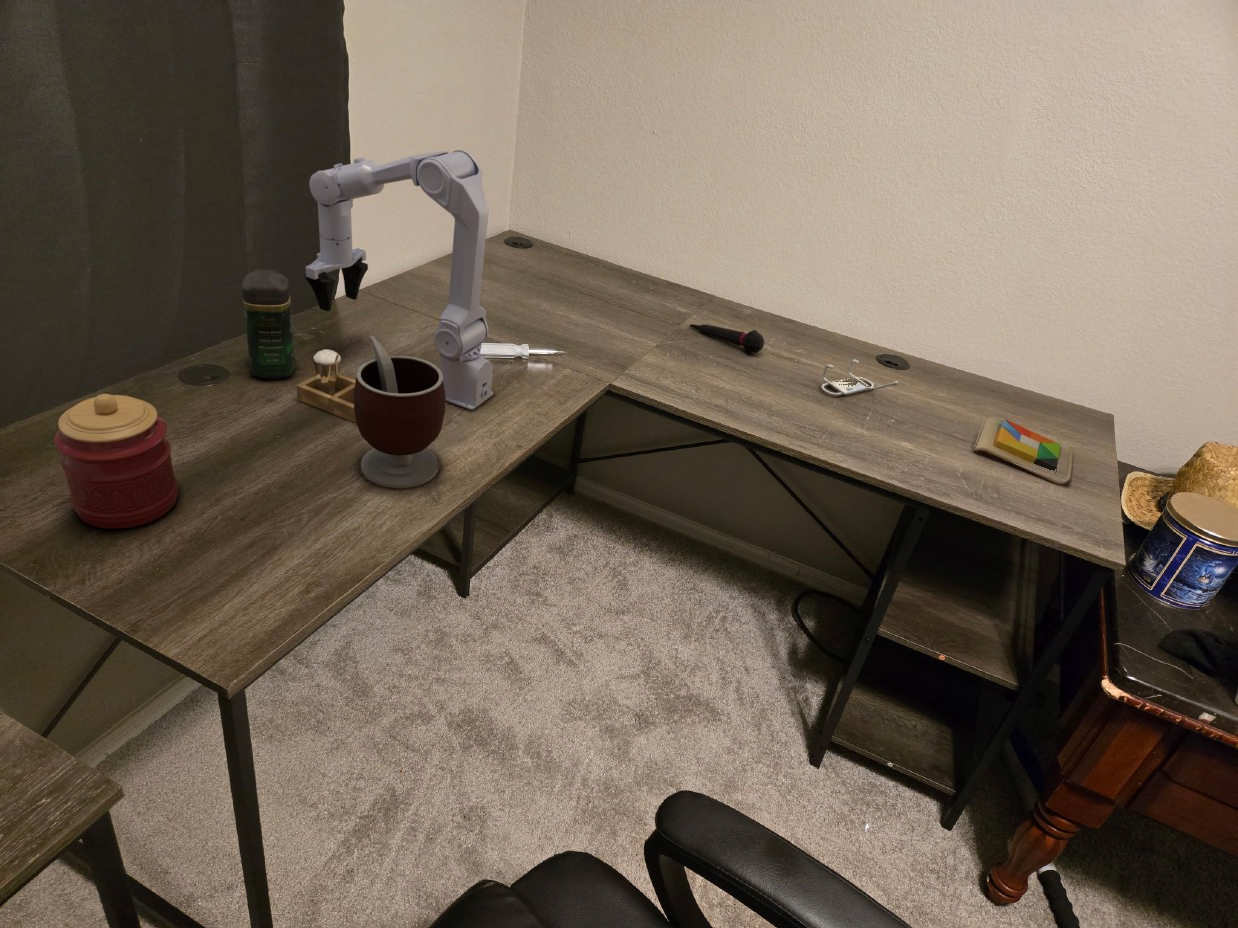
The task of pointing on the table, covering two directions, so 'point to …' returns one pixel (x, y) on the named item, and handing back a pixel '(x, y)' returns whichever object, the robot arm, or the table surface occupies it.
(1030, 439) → the wooden puzzle
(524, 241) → the table surface
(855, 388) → the wall mount rack
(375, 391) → the mate gourd
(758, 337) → the microphone
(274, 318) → the coffee jar
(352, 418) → the rack
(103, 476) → the kitchen canister
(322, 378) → the milkshake
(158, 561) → the table surface
